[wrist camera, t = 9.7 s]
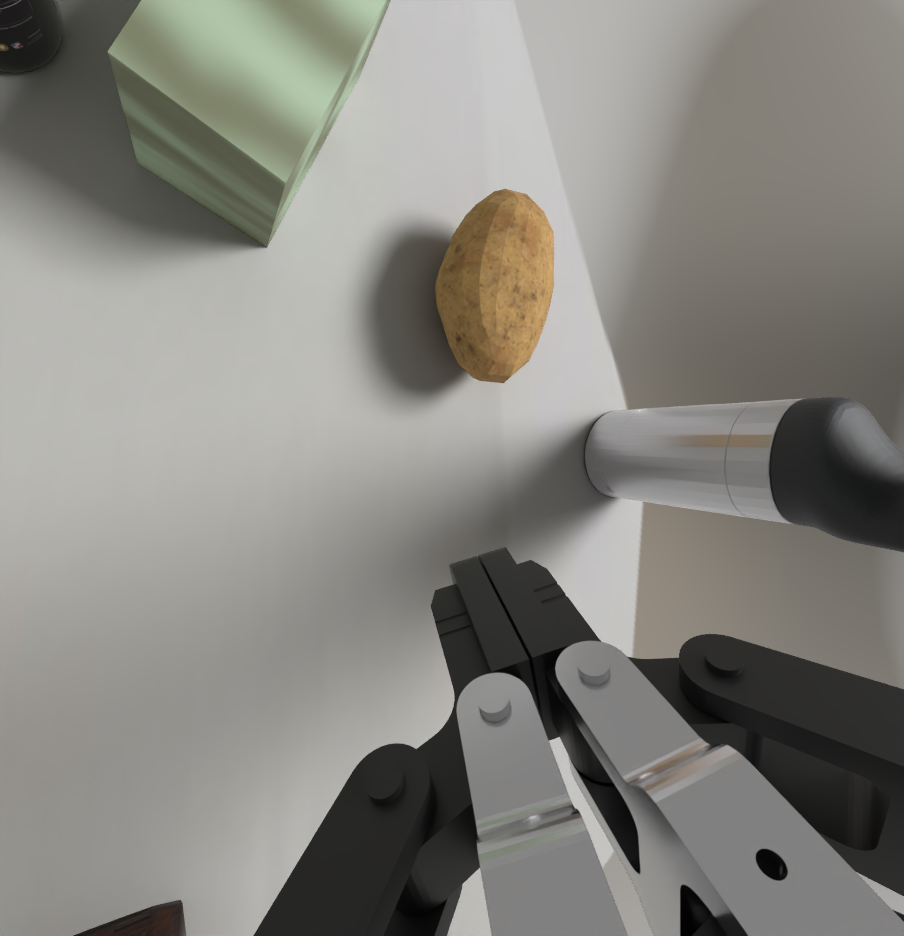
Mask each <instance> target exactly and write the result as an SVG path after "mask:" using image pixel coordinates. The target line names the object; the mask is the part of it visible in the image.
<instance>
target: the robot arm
mask: <svg viewBox="0 0 904 936" xmlns="http://www.w3.org/2000/svg"><path fill="white" fill-rule="evenodd" d="M585 463H586V469H587V473H588V476H589V478H590V480H591V482H592V484H593V485H594V486H595V488H596V489H597V490H598V491H600V492H601V493H602V494H605V495H607V496H611V497H618V498H624V499H631V500H637V501H643V502H649V503H656V504H663V505H669V506H676V507H682V508H689V509H696V510H702V511H709V512H716V513H722V514H729V515H735V516H742V517H749V518H756V519H763V520H770V521H777V522H783V523H790V524H797V525H803V526H809V527H814V528H817V529H819V530H822V531H824V532H826V533H828V534H830V535H832V536H835V537H838V538H840V539H843V540H847V541H851V542H855V543H860V544H865V545H870V546H875V547H881V548H885V549H890V550H895V551H900V552H904V453H903V452H902V451H901V450H900V449H899V448H898V447H897V446H896V445H894V443H893V442H892V441H891V440H890V439H889V438H888V437H887V435H886V434H885V433H884V431H883V430H882V429H881V427H880V426H879V425H878V423H877V421H876V420H875V418H874V417H873V416H872V414H871V413H870V412H869V411H868V410H867V409H866V408H865V407H864V406H863V405H862V404H860V403H859V402H857V401H855V400H852V399H849V398H844V397H825V398H824V397H823V398H807V399H793V400H777V401H762V402H748V403H735V404H734V403H733V404H712V405H696V406H682V407H681V406H680V407H665V408H649V409H634V410H622V411H612V412H609V413H606V414H605V415H603V416H602V417H600V418H599V419H598V421H597V422H596V423H595V424H594V426H593V427H592V429H591V431H590V433H589V436H588V439H587V443H586V448H585ZM449 567H450V571H451V575H452V579H453V583H454V585H451V586H448V587H444V588H441V589H438V590H435V593H434V597H433V601H432V604H431V609H432V612H433V616H434V619H435V623H436V627H437V630H438V634H439V638H440V641H441V645H442V648H443V652H444V656H445V659H446V663H447V667H448V670H449V674H450V677H451V681H452V685H453V688H454V694H455V702H454V707H453V710H452V713H451V715H450V717H449V719H448V721H447V722H446V724H445V725H444V727H443V728H442V729H441V730H440V731H439V732H438V733H437V734H436V735H434V736H433V737H432V738H431V739H429V740H428V741H427V742H425V743H424V744H423V745H421V746H420V747H419V748H417V749H415V748H413V747H411V746H409V745H405V744H396V743H395V744H388V745H385V746H382V747H380V748H378V749H376V750H374V751H373V752H371V753H369V754H368V755H367V756H366V757H365V758H364V759H362V761H361V762H360V763H359V764H358V765H357V766H356V768H355V769H354V771H353V772H352V774H351V775H350V777H349V779H348V780H347V782H346V784H345V785H344V787H343V789H342V790H341V792H340V794H339V795H338V797H337V799H336V800H335V802H334V804H333V805H332V807H331V809H330V810H329V812H328V813H327V815H326V817H325V818H324V820H323V822H322V823H321V825H320V827H319V828H318V830H317V832H316V833H315V835H314V837H313V838H312V840H311V842H310V843H309V845H308V847H307V848H306V850H305V851H304V853H303V855H302V856H301V858H300V860H299V861H298V863H297V865H296V866H295V868H294V870H293V871H292V873H291V875H290V876H289V878H288V880H287V881H286V883H285V885H284V886H283V888H282V890H281V891H280V893H279V894H278V896H277V898H276V899H275V901H274V903H273V904H272V906H271V908H270V909H269V911H268V913H267V914H266V916H265V918H264V919H263V921H262V923H261V924H260V926H259V928H258V929H257V931H256V933H255V934H254V936H447V933H448V930H449V927H450V924H451V921H452V918H453V915H454V912H455V909H456V906H457V903H458V900H459V897H460V894H461V890H462V884H463V883H464V882H465V881H466V880H467V879H468V878H469V877H470V876H471V875H472V874H473V873H474V872H475V871H477V870H478V869H479V868H480V869H481V875H482V881H483V887H484V892H485V898H486V904H487V910H488V916H489V922H490V928H491V933H492V936H628V935H627V932H626V929H625V927H624V924H623V922H622V919H621V917H620V914H619V911H618V909H617V906H616V903H615V901H614V898H613V895H612V893H611V890H610V887H609V885H608V882H607V880H606V877H605V874H604V872H603V869H602V866H601V864H600V861H599V859H598V856H597V853H596V851H595V848H594V845H593V843H592V840H591V838H590V835H589V833H588V830H587V828H586V825H585V823H584V821H583V818H582V816H581V814H580V812H579V811H578V810H577V809H575V808H574V806H573V804H572V802H571V800H570V797H569V795H568V792H567V789H566V786H565V784H564V781H563V778H562V776H561V773H560V770H559V768H558V765H557V762H556V759H555V757H554V754H553V751H552V749H551V746H550V743H549V740H552V739H555V738H557V737H560V739H561V741H562V743H563V745H564V747H565V749H566V751H567V753H568V757H569V763H570V769H571V772H572V775H573V777H574V779H575V781H576V783H577V785H578V787H579V788H580V790H581V792H582V794H583V796H584V797H585V799H586V801H587V803H588V804H589V806H590V808H591V810H592V812H593V813H594V815H595V817H596V819H597V821H598V822H599V824H600V826H601V828H602V829H603V831H604V833H605V835H606V837H607V838H608V840H609V842H610V844H611V845H612V847H613V849H614V851H615V853H616V854H617V856H618V858H619V860H620V862H621V863H622V865H623V867H624V869H625V870H626V872H627V874H628V876H629V878H630V880H631V882H632V884H633V885H634V888H635V890H636V892H637V894H638V897H639V899H640V902H641V905H642V908H643V911H644V914H645V916H646V919H647V921H648V924H649V925H650V928H651V930H652V932H653V935H654V936H904V915H903V914H901V913H899V912H896V911H894V910H892V909H891V908H890V907H889V906H888V905H887V904H886V903H885V902H884V901H883V900H882V899H881V898H880V897H879V896H878V895H877V894H876V893H875V892H874V891H873V889H872V888H871V887H870V886H869V885H868V884H867V883H866V882H865V881H864V880H863V879H862V878H861V877H860V876H859V875H858V874H857V873H856V872H858V873H860V874H862V875H864V876H866V877H867V878H869V879H871V880H873V881H875V882H877V883H879V884H881V885H883V886H885V887H887V888H889V889H891V890H893V891H895V892H897V893H898V894H900V895H902V896H904V689H900V688H897V687H894V686H890V685H887V684H884V683H881V682H877V681H874V680H871V679H868V678H864V677H861V676H858V675H854V674H851V673H848V672H844V671H841V670H838V669H834V668H831V667H828V666H825V665H821V664H818V663H814V662H811V661H808V660H805V659H802V658H798V657H795V656H792V655H788V654H785V653H782V652H778V651H775V650H772V649H769V648H765V647H762V646H759V645H756V644H752V643H749V642H746V641H742V640H739V639H736V638H733V637H729V636H725V635H718V634H705V635H699V636H696V637H693V638H691V639H689V640H688V641H686V642H685V643H684V644H683V646H682V648H681V649H680V653H679V658H664V659H636V658H631V657H627V656H626V655H625V654H624V653H623V652H622V651H620V650H619V649H617V648H616V647H614V646H612V645H610V644H607V643H604V642H601V641H600V640H599V638H598V637H597V636H596V634H595V633H594V632H593V630H592V629H591V628H590V626H589V625H588V624H587V622H586V621H585V620H584V618H583V617H582V616H581V614H580V613H579V611H578V610H577V609H576V607H575V606H574V605H573V603H572V602H571V601H570V599H569V598H568V597H566V595H565V593H564V591H563V590H562V589H561V587H560V586H559V585H558V584H557V582H556V580H555V579H554V578H553V576H552V575H551V574H550V572H549V571H548V570H547V569H546V568H544V567H542V566H541V565H539V564H537V563H535V562H533V561H532V560H530V561H526V562H523V563H520V564H516V562H515V561H514V559H513V558H512V556H511V555H510V553H509V552H508V550H507V549H506V548H505V547H504V548H501V549H498V550H495V551H491V552H488V553H485V554H482V555H478V558H477V557H472V558H469V559H466V560H463V561H459V562H456V563H453V564H450V565H449ZM855 871H856V872H855Z"/></svg>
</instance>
